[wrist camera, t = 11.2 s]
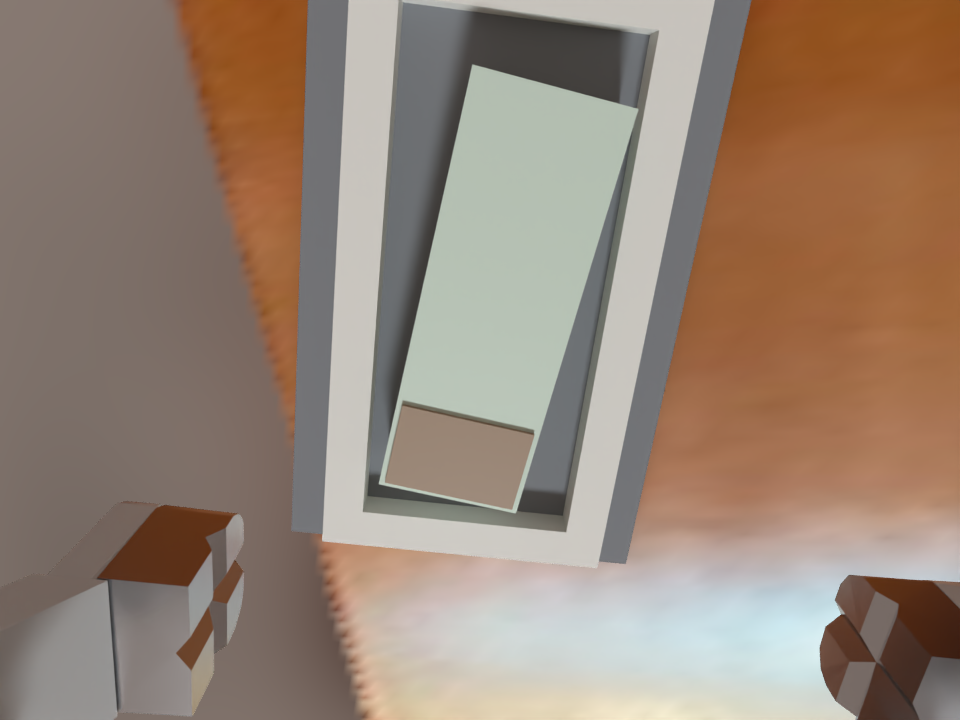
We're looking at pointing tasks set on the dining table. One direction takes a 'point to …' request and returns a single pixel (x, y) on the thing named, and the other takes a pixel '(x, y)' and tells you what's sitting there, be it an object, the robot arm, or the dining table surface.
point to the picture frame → (410, 232)
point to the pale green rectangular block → (502, 285)
